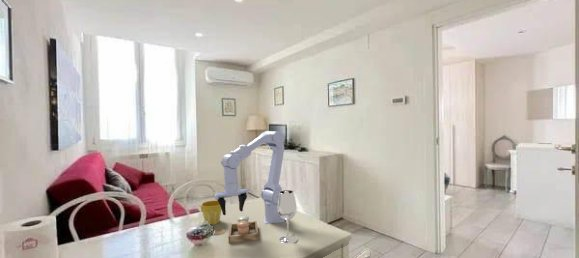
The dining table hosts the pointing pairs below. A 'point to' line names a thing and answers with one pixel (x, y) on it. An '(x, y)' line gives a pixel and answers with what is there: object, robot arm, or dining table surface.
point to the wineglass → (287, 212)
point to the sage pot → (242, 218)
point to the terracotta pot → (243, 227)
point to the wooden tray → (251, 236)
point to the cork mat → (219, 231)
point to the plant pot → (211, 211)
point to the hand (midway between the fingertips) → (232, 212)
